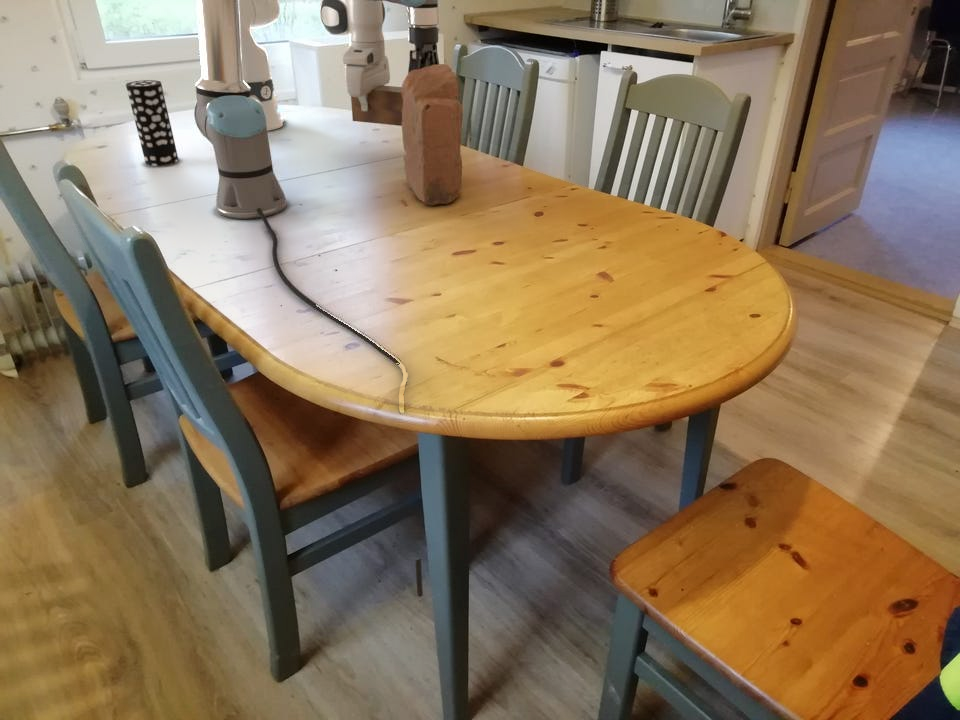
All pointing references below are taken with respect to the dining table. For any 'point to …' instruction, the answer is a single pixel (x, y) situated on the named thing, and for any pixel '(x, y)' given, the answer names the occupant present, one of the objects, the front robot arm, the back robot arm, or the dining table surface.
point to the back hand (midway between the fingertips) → (371, 107)
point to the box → (380, 106)
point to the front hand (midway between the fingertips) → (425, 114)
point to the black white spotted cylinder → (152, 122)
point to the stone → (432, 134)
